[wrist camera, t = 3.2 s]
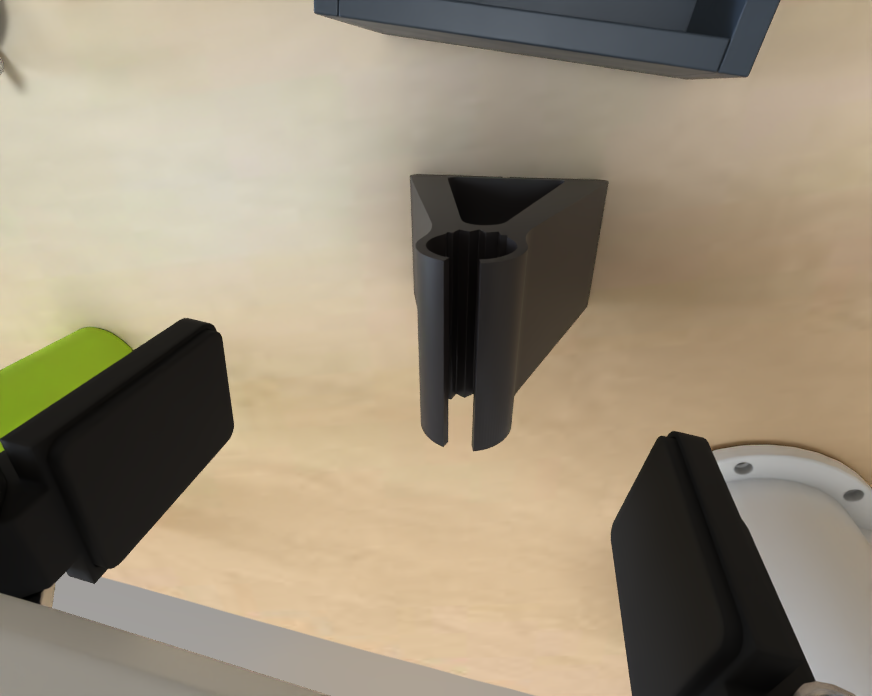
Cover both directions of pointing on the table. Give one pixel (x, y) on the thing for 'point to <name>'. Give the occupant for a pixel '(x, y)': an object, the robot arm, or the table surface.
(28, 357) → the soap dispenser
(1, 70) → the laptop tray
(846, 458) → the table surface
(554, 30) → the tote
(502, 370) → the phone stand
